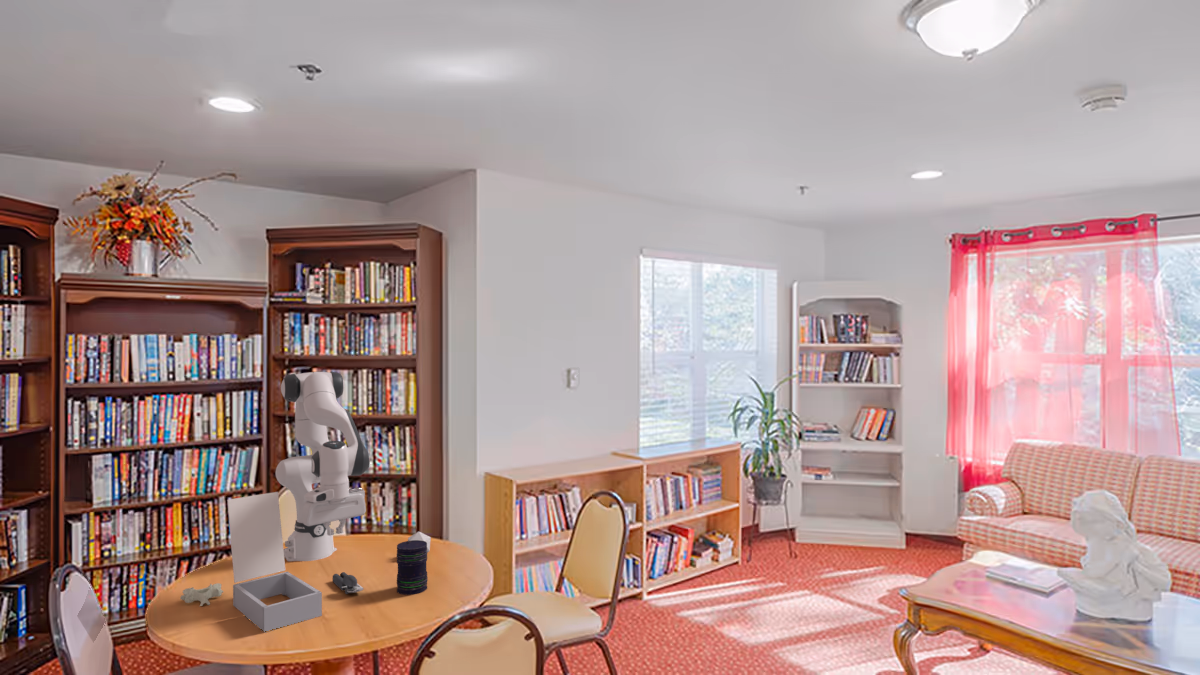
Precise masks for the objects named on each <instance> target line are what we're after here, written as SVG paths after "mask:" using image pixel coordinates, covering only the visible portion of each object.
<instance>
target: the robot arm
mask: <svg viewBox="0 0 1200 675" xmlns="http://www.w3.org/2000/svg"><path fill="white" fill-rule="evenodd" d="M344 390H345V381H344V378H343V376H342V374H341V373H340V372H337V371H336V372H335V371H330V372H329V371H313V372H303V373H296V374H295V373H290V374H287V375H285V376H284V378H283V380H282V381H281V385H280V392H281V394H282V395H281V396H282V397H283V399H284V400H285V401H286V402H290V403H295V404H296V405H295V412H294V422H295V423H294V424H295V425H294V428H295V439H296V441H297V442H298V443H299V444H301V445H303V446H304V447H308V448H310V450H311V453H312V454H307V455H301V456H292V457H288V458H286V459H282V460H280V462H278V464H277V466H276V468H275V478H276V480H277V482H278V483H279V484H280V485H281V486H283V487H285V488H286V489H287V490H289V491H290V493H291V494H292V496H293V498H294V500H295V501H294V502H295V509H296V520H295V524H294V528H293V529H294V531H293V532H292V533H291V534H290V535H289V536H288V537H287V540H285V541H284V546H285V548H283V550H284V559H286V561H287V562H312V561H317V560H321V559H322V560H323V559H326V558H327V557H328V558H329V557H330V556H332V554H333V553H334V552H335V551H338V548H337V547H335V546H334V534H343V531H344V530H343V528H344V527H345V525H346V523H347V519H351V518H356V517H357V518H358V517H361V516H365V513H366V511H367V507H366V500H365V497H366V493H365V492H366V491H365V490H364V488H362V487H356V488H350V481H349V480H350V479H349V476H351V477H352V476H353V477H355V476H356V477H357V476H362V475H364V474H365V472H366V471H367V470H368V469H369V468H370V465H371V464H370V462H371V461H370V460H371V459H370V455H369V452H368V450H367V448H366V447H365V445H364V443H363V441H362V438H361V436H360V434H359V431H358V429H357V426H356V424H355V421H354V420H353V417H352V415H351V413H350V411H349V410H348V409H347V408H343V407H342V405H341V404H340V403H339V402H338V400H337V399H339V398H340V397H341V396H342V395H343V394H344ZM327 427H328V428H332V429H336V430H338V431H340V432H341V433H342V434H343V436H344V437H343V438H344V439H345V441H346V443H345V442H343V441H341V440H340V441H339V440H329V436H328V428H327ZM313 484H319V486H318V487H316V488H315V489H313ZM337 521H338V522H339V524H338V527H335V530H334V529H333V528H331V527H330V526H331V522H337ZM334 532H335V533H334Z"/></svg>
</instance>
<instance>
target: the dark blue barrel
mask: <svg viewBox="0 0 1200 675" xmlns="http://www.w3.org/2000/svg"><path fill="white" fill-rule="evenodd" d="M427 561H428V552H427V542H425V541H420V540H412V541H408V540H406V541H402V542H400V543H398V544H396V563H397V575H396V588H397V589H396V592H397V593H398V594H399V595H402V596H403V595H405V596H410V595H411V596H413V595H419V594H421V593H424V592H425V591H427V589H428V571H427Z"/></svg>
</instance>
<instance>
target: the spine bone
mask: <svg viewBox="0 0 1200 675" xmlns="http://www.w3.org/2000/svg"><path fill="white" fill-rule="evenodd" d="M223 593H224V590H223V589H222V583H218V582H217V583H214V584H212V583H209V585H208V586H207V587H203V588H199V589H197V588H194V587H189V588H185V589H183V590H182V595H181V596H180V599H179V600H181V601H184V602H185V603H186V604H190V603H193V602H195V601H199V602H200V605H199V607H200V606H202V607H203V605H204V604H206V605H207V606H210V605H211V603H210V601H209V599H212V598H216V597H221V596H222V594H223Z"/></svg>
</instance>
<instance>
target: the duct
mask: <svg viewBox="0 0 1200 675" xmlns="http://www.w3.org/2000/svg"><path fill="white" fill-rule="evenodd" d="M232 594H233V595H232V597H233V598H232V601H233V602H232V605H233V607H234V608H236V609H237V611H239V612H241V613H242V615H245V616H246V617H247V618H248V619H250V620H251V621H252V622H253V623H254V624H256V625H257V626H258V627H259V628H260V629H262V630H263V631H264V632H265V631H269V630H272V629H275V630H277V629H276V628H279V629H281V628H280V627H282V628H284V627H283V626H285V627H288V626H287V625H289V626H292V625H295V624H298V622H299V623H302V622H305V621H308V620H312V619H314V618H315V617H316V618H320V617H322V616H323V608H322V607H323V604H322V603H323V596H322V595H323V594H322V591H320V590H319V589H317V588H315V587H313V586H312V585H310V584H309V583H307V582H305V581H304V580H303V579H300V578H299V577H297V576H295V574H292V573H290V572H289V571H283V572H281V573H274V574H270V575H266V576H262V577H258V578H254V579H250V580H248V581H247V580H246V581H241V582H237V583H235V584H233V585H232ZM279 595H282V596H286V597H288V598H289V599H287V600H284V601H280V602H276V603H272V604H268V605H267V604H265V603H264V602H263V601H261V600H263V599H268V598H271V597H274V596H279ZM246 617H245V618H246ZM247 618H246V619H247ZM248 619H247V620H248ZM304 620H305V621H304ZM251 621H250V622H251ZM301 621H302V622H301ZM252 622H251V623H252ZM253 623H252V624H253ZM294 623H295V624H294ZM254 624H253V625H254ZM291 624H292V625H291ZM256 625H255V626H256ZM257 626H256V627H257ZM258 627H257V628H258ZM259 628H258V629H259ZM260 629H259V630H260ZM262 630H261V631H262ZM263 631H262V632H263ZM272 631H273V630H272ZM264 632H263V633H264ZM269 632H270V631H269ZM265 633H266V632H265Z"/></svg>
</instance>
